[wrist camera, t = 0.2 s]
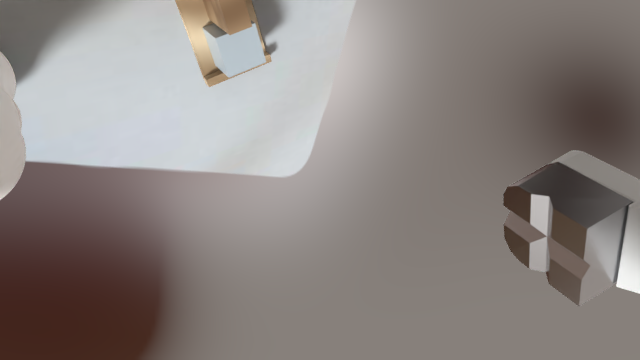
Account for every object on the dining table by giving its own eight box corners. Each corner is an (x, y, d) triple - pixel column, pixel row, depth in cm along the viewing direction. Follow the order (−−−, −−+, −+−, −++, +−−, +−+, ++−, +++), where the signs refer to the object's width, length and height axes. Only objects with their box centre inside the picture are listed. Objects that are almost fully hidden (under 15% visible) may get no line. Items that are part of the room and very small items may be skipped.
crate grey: (202, 27, 54) (215, 38, 51) (239, 13, 55) (255, 22, 52) (215, 65, 56) (228, 77, 53) (251, 50, 57) (266, 62, 54)
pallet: (142, -86, 48) (161, -77, 43) (216, -109, 50) (244, -103, 45) (202, 80, 58) (225, 104, 52) (263, 55, 59) (291, 76, 54)
